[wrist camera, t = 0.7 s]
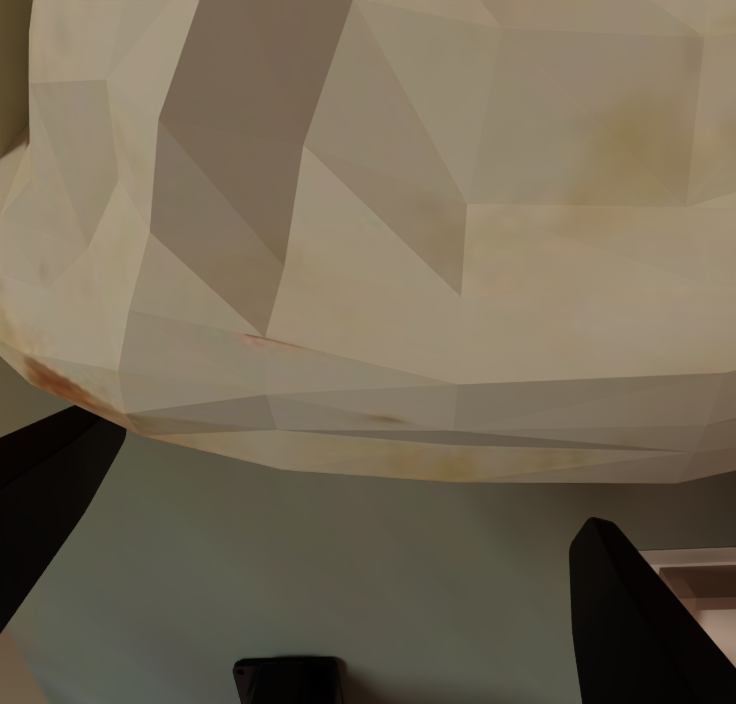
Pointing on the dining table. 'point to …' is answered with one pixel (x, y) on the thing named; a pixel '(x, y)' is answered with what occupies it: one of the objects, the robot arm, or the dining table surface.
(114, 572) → the dining table surface
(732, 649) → the brown wooden tray
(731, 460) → the food model
